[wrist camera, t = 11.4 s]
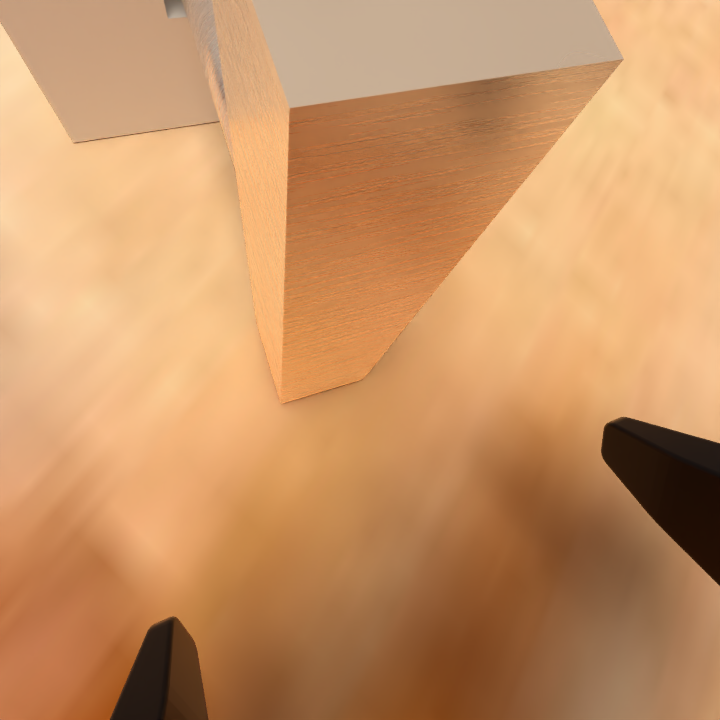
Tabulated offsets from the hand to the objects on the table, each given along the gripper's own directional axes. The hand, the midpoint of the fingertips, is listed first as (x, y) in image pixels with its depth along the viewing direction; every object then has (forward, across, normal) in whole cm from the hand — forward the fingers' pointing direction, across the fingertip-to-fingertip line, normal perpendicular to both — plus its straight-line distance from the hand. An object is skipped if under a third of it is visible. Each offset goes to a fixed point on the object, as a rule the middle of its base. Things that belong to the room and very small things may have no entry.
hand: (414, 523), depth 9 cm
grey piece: (+13, 0, -4) cm, 14 cm away
